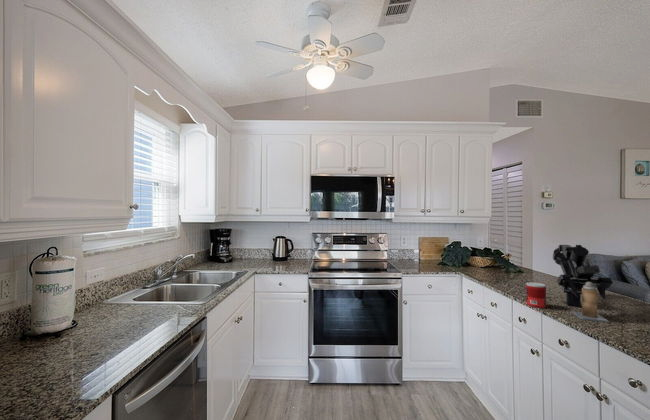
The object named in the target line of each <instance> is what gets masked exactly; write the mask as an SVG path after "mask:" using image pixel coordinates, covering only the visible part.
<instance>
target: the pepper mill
mask: <svg viewBox="0 0 650 420" xmlns="http://www.w3.org/2000/svg"><path fill="white" fill-rule="evenodd" d="M581 304H582V307H581V312H582V315H584V316H586V317H591V318H597V314H598V290H597V288H596V286H594V284H593V283H591V282H586V283H585V285H583V288H582V294H581Z"/></svg>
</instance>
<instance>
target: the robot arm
mask: <svg viewBox="0 0 650 420" xmlns="http://www.w3.org/2000/svg"><path fill="white" fill-rule="evenodd" d="M589 253H590V251H589V249H587V248H586V247H584V246H582V244H576V245H575V246H572V245H569V244H559V245H558V247H556V248H555V249H554V250H553V254H552V260H553V261H554V262H555V264H557V265H559V266H560V268H561V270H562V273H563V274H560V275H559V276H558V278H557V281H556V283H557V285H558V286H561V292H563V293H565V300H563V301H562V302H563V303H564V304H565V305H566V306H569V307H570V306H571V307H579V308H582V288H583V285H585V283H586V282H591V283H593V285H595V287H597V288H596V290H597V293H598V294H599V296H600V297H601V299H602V300H605V298H606V290H607V289H610V287H611V286H612V284H613V283H614V281H613V279H612V278H611V277H609V276H599V277H598V278H597V279H592V278H593V277H594V275H595V274H598V273H600V272H601V270H600V267H599V266H598V265H596V264H595V265H594V264H593V265H586V263H585V262H586V261H587V259H588V256H589Z"/></svg>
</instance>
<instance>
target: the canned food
mask: <svg viewBox="0 0 650 420" xmlns="http://www.w3.org/2000/svg"><path fill="white" fill-rule="evenodd" d="M525 289H526V295H525V296H526V305H527V306H529V307H532V308H537V309H544V308H546V307H547V285H546V284H544V283H539V282H533V281H532V282H530V281H529V282H526V284H525Z"/></svg>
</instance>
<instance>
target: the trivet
mask: <svg viewBox="0 0 650 420" xmlns="http://www.w3.org/2000/svg"><path fill="white" fill-rule="evenodd" d="M572 314H573V315H575V316H576V317H577V318H579V319H580V320H581V319H582V320H581V321H587V320H588V321H589V322H597V321H600V323H607V322H608V323H609V320H608V319H606V318H605V317H603V316H602V315H600V314H598V313H597V318H591V317H586V316H584V315H582V311H574V310H573V311H572Z"/></svg>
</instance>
